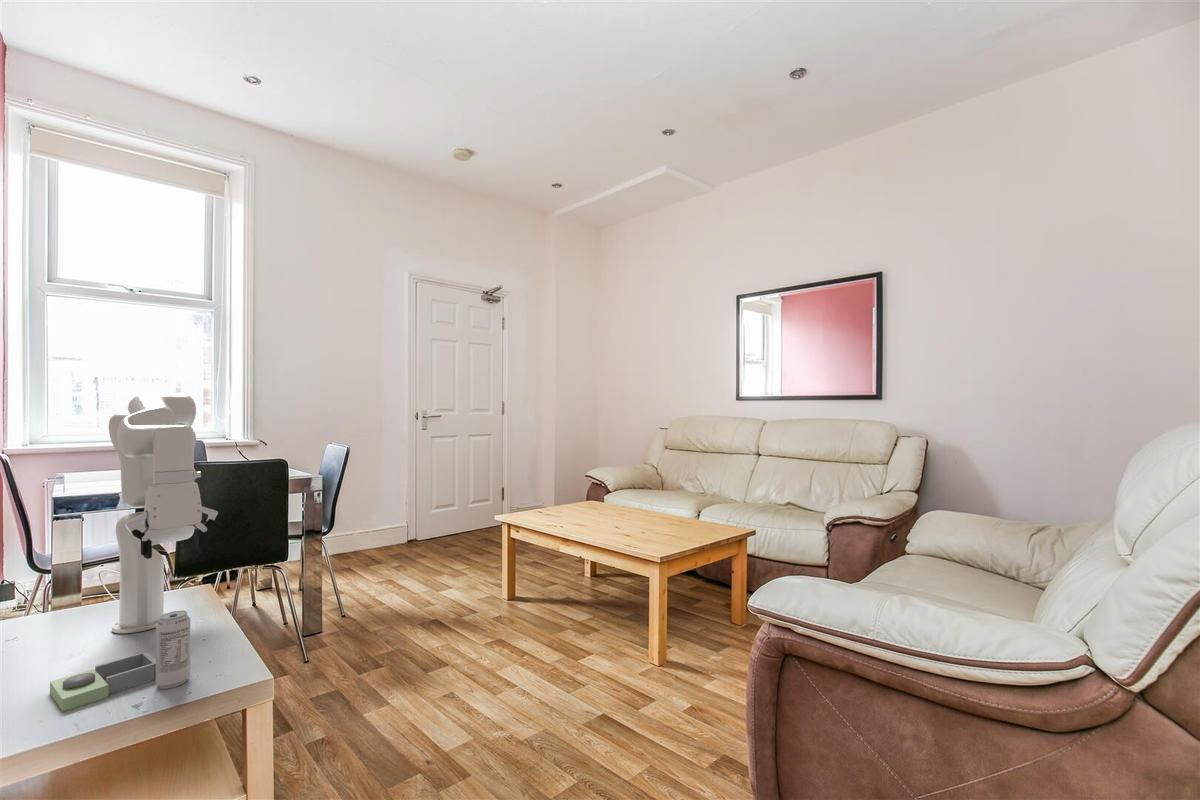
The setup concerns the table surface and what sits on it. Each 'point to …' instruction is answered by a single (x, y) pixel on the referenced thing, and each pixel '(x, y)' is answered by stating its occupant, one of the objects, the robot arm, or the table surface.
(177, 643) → the energy drink can
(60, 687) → the grey open box
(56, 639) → the table surface
